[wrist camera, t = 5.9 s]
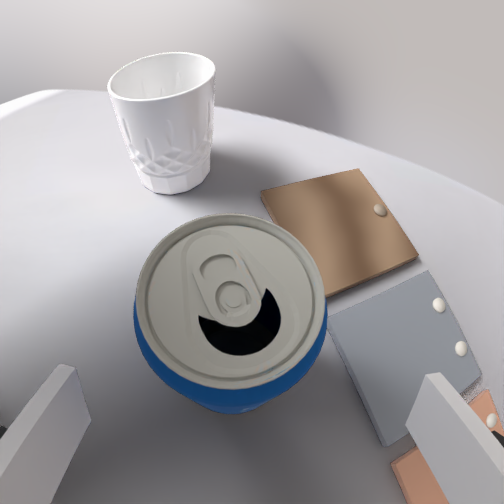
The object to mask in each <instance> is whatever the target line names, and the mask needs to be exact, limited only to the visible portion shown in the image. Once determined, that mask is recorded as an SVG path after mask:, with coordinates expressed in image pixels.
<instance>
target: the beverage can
mask: <svg viewBox="0 0 504 504" xmlns="http://www.w3.org/2000/svg"><path fill="white" fill-rule="evenodd" d="M327 316H328V313H327V302H326V298H325V292H324V286H323V281H322V277H321V275H320V272H319V269H318V267H317V265H316V263H315V261H314V259H313V258H312V256H311V255H310V253H309V252H308V251H307V249H306V248H305V247H304V246H303V245H302V244H301V243H300V241H299V240H297V239H296V238H295V237H294V236H293V235H292V234H290V233H289V232H288V231H286V230H285V229H283V228H282V227H280V226H278V225H276V224H274V223H272V222H270V221H267V220H265V219H262V218H259V217H255V216H251V215H245V214H236V213H223V214H214V215H208V216H204V217H200V218H197V219H194V220H192V221H189V222H187V223H185V224H183V225H181V226H180V227H178V228H176V229H175V230H173V231H172V232H170V233H169V234H168V235H167V236H165V237H164V238H163V239H162V240H161V241H160V242H159V243H158V244H157V245H156V247H155V248H154V249H153V250H152V252H151V253H150V255H149V256H148V258H147V259H146V261H145V263H144V265H143V267H142V270H141V273H140V276H139V279H138V283H137V289H136V296H135V302H134V316H133V318H134V327H135V333H136V337H137V341H138V344H139V346H140V349H141V351H142V354H143V356H144V357H145V359H146V361H147V362H148V364H149V366H150V367H151V368H152V369H153V371H154V372H155V373H156V374H157V375H158V376H159V377H160V378H161V379H162V380H163V381H164V382H165V383H166V384H167V385H168V386H170V387H171V388H173V389H174V390H176V391H177V392H179V393H180V394H182V395H184V396H185V397H187V398H189V399H191V400H192V401H194V402H196V403H198V404H200V405H202V406H203V407H205V408H207V409H210V410H212V411H215V412H218V413H224V414H240V413H244V412H248V411H251V410H253V409H255V408H257V407H259V406H261V405H263V404H264V403H266V402H268V401H270V400H271V399H273V398H275V397H277V396H278V395H280V394H282V393H283V392H285V391H287V390H288V389H289V388H291V387H292V386H293V385H295V384H296V383H297V382H298V381H299V380H300V379H301V378H302V377H303V376H304V375H305V374H306V373H307V372H308V370H309V369H310V367H311V366H312V365H313V363H314V362H315V360H316V358H317V356H318V354H319V352H320V350H321V347H322V345H323V342H324V338H325V334H326V329H327Z"/></svg>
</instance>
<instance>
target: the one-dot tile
mask: <svg viewBox="0 0 504 504" xmlns="http://www.w3.org/2000/svg"><path fill="white" fill-rule="evenodd" d="M261 199H262V201H263V203H264V205H265V207H266V209H267V211H268V213H269V214H270V216H271V218H272V220H273V222H274V224H276V225H278V226H280V227H282V228H283V229H285V230H286V231H288V232H289V233H290V234H292V235H293V236H294V237H295V238H296V239H297V240H299V241H300V243H301V244H302V245H303V246H304V247H305V248H306V249H307V251H308V252H309V253H310V255H311V256H312V258H313V259H314V261H315V263H316V265H317V267H318V269H319V272H320V275H321V277H322V281H323V286H324V292H325V298H328V297H330V296H333V295H335V294H337V293H340V292H342V291H345V290H347V289H349V288H352V287H354V286H357V285H359V284H361V283H364V282H366V281H368V280H370V279H373V278H375V277H377V276H380V275H382V274H384V273H386V272H389V271H391V270H393V269H395V268H398V267H400V266H402V265H404V264H406V263H408V262H411V261H413V260H415V259H416V258H417V256H418V255H419V254H418V253H417V251H416V250H415V248H414V246H413V245H412V243H411V242H410V240H409V239H408V237H407V236H406V234H405V233H404V231H403V230H402V228H401V227H400V225H399V224H398V222H397V221H396V219H395V218H394V216H393V215H392V213H391V212H390V211H389V209H388V208H387V206H386V205H385V203H384V202H383V201H382V199H381V198H380V196H379V195H378V194H377V192H376V191H375V190H374V188H373V187H372V186H371V184H370V183H369V182H368V180H367V179H366V178H365V176H364V175H363V174H362V172H361V171H360V170H359V169H353V170H349V171H344V172H340V173H335V174H331V175H326V176H322V177H317V178H313V179H309V180H304V181H300V182H296V183H292V184H288V185H284V186H280V187H276V188H272V189H268V190H264V191H261Z"/></svg>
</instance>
